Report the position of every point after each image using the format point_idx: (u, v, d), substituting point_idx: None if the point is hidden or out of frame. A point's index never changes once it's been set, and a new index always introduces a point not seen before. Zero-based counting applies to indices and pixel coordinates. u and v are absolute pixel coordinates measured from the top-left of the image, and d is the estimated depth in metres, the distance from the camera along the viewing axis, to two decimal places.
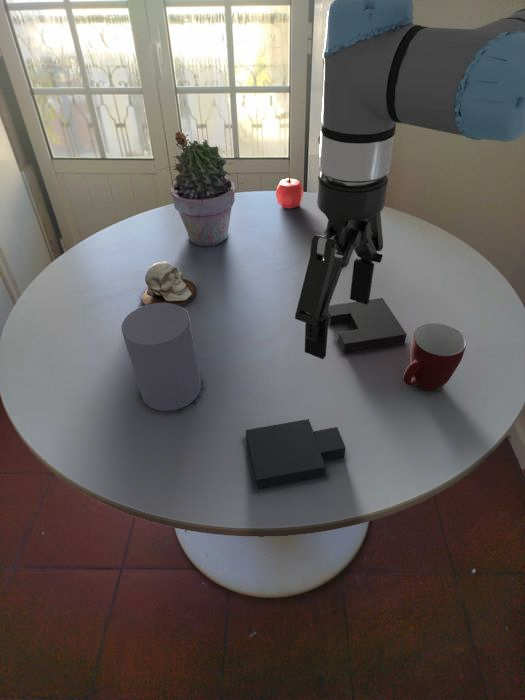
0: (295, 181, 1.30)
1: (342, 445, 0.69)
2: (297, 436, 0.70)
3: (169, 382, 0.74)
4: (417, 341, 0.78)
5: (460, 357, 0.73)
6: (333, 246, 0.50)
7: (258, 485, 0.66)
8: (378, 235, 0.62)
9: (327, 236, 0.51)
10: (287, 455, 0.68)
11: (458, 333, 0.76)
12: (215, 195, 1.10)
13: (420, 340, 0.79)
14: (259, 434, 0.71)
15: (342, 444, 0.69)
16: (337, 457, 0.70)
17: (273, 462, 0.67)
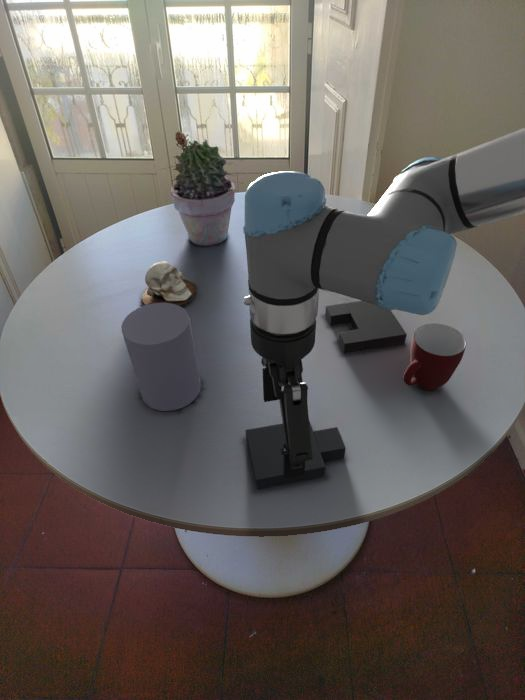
0: None
1: (342, 445, 0.69)
2: None
3: (169, 382, 0.74)
4: (417, 341, 0.78)
5: (460, 357, 0.73)
6: (307, 389, 0.52)
7: (258, 485, 0.66)
8: None
9: (293, 381, 0.52)
10: None
11: (458, 333, 0.76)
12: (215, 195, 1.10)
13: (420, 340, 0.79)
14: (259, 434, 0.71)
15: (342, 444, 0.69)
16: (337, 457, 0.70)
17: (273, 462, 0.67)
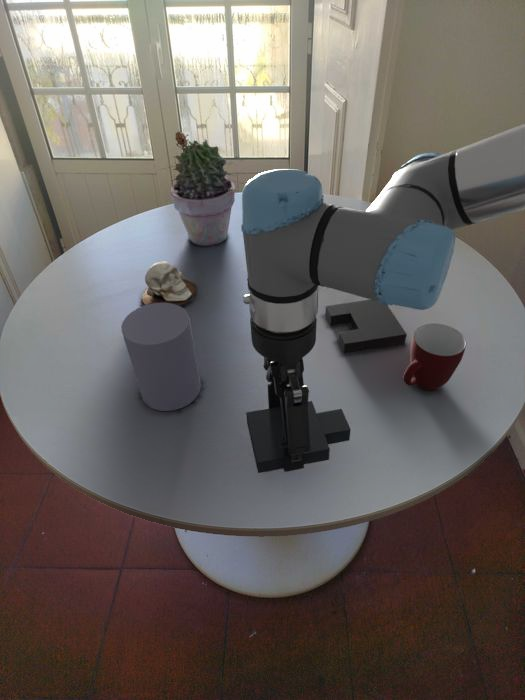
0: None
1: (347, 427, 0.66)
2: None
3: (169, 382, 0.74)
4: (417, 341, 0.78)
5: (460, 357, 0.73)
6: (308, 392, 0.52)
7: (259, 468, 0.63)
8: None
9: (295, 384, 0.52)
10: None
11: (458, 333, 0.76)
12: (215, 195, 1.10)
13: (420, 340, 0.79)
14: (260, 416, 0.68)
15: (347, 426, 0.66)
16: (342, 439, 0.67)
17: (275, 444, 0.64)
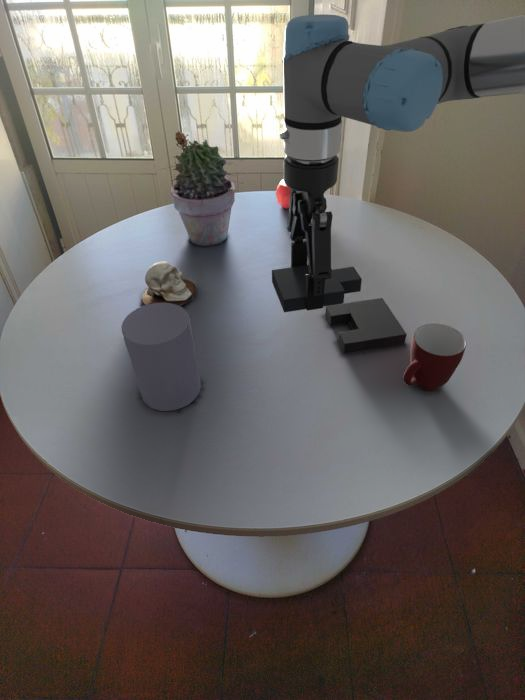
0: None
1: (359, 277, 0.77)
2: None
3: (169, 382, 0.74)
4: (417, 341, 0.78)
5: (460, 357, 0.73)
6: (332, 216, 0.63)
7: (285, 306, 0.74)
8: None
9: (321, 210, 0.64)
10: None
11: (458, 333, 0.76)
12: (215, 195, 1.10)
13: (420, 340, 0.79)
14: (284, 272, 0.79)
15: (359, 276, 0.77)
16: (354, 290, 0.78)
17: (298, 288, 0.76)
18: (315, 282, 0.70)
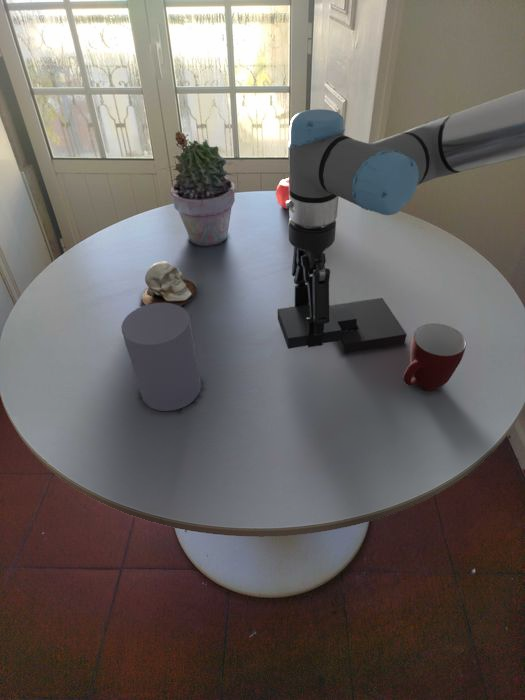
0: None
1: (354, 317, 0.88)
2: None
3: (169, 382, 0.74)
4: (417, 341, 0.78)
5: (460, 357, 0.73)
6: (329, 272, 0.74)
7: (289, 343, 0.85)
8: None
9: (320, 267, 0.74)
10: None
11: (458, 333, 0.76)
12: (215, 195, 1.10)
13: (420, 340, 0.79)
14: (288, 311, 0.90)
15: (354, 316, 0.88)
16: (350, 328, 0.89)
17: (301, 327, 0.86)
18: (315, 325, 0.81)
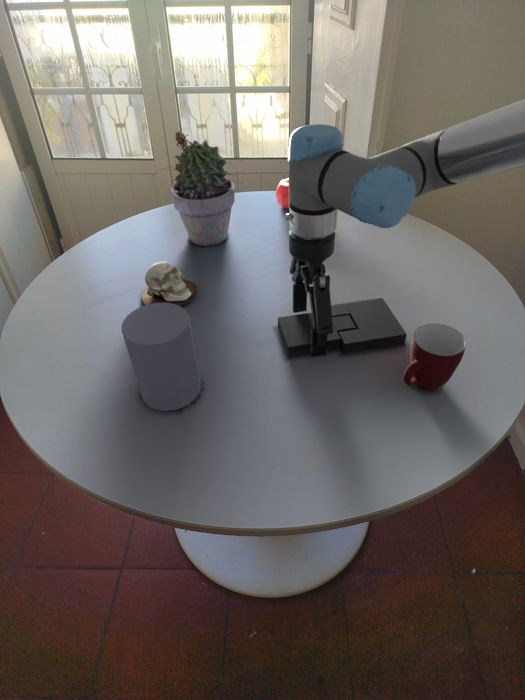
0: None
1: (353, 326, 0.89)
2: None
3: (169, 382, 0.74)
4: (417, 341, 0.78)
5: (460, 357, 0.73)
6: (329, 278, 0.75)
7: (289, 352, 0.86)
8: None
9: (320, 274, 0.75)
10: None
11: (458, 333, 0.76)
12: (215, 195, 1.10)
13: (420, 340, 0.79)
14: (288, 320, 0.91)
15: (353, 325, 0.89)
16: None
17: (301, 336, 0.87)
18: (319, 335, 0.80)
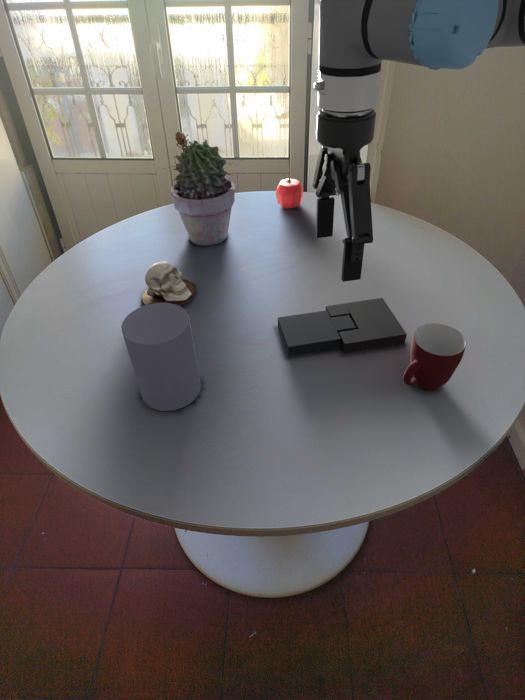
0: (295, 181, 1.30)
1: (353, 326, 0.89)
2: (318, 320, 0.91)
3: (169, 382, 0.74)
4: (417, 341, 0.78)
5: (460, 357, 0.73)
6: (370, 168, 0.58)
7: (289, 352, 0.86)
8: None
9: (357, 163, 0.59)
10: (311, 332, 0.88)
11: (458, 333, 0.76)
12: (215, 195, 1.10)
13: (420, 340, 0.79)
14: (288, 320, 0.91)
15: (353, 325, 0.89)
16: None
17: (301, 336, 0.87)
18: (354, 248, 0.63)
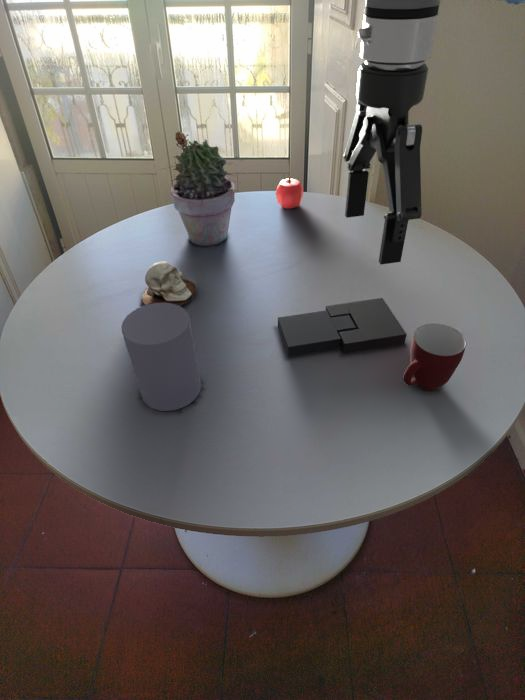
0: (295, 181, 1.30)
1: (353, 326, 0.89)
2: (318, 320, 0.91)
3: (169, 382, 0.74)
4: (417, 341, 0.78)
5: (460, 357, 0.73)
6: None
7: (289, 352, 0.86)
8: None
9: (406, 125, 0.51)
10: (311, 332, 0.88)
11: (458, 333, 0.76)
12: (215, 195, 1.10)
13: (420, 340, 0.79)
14: (288, 320, 0.91)
15: (353, 325, 0.89)
16: None
17: (301, 336, 0.87)
18: (397, 225, 0.55)
